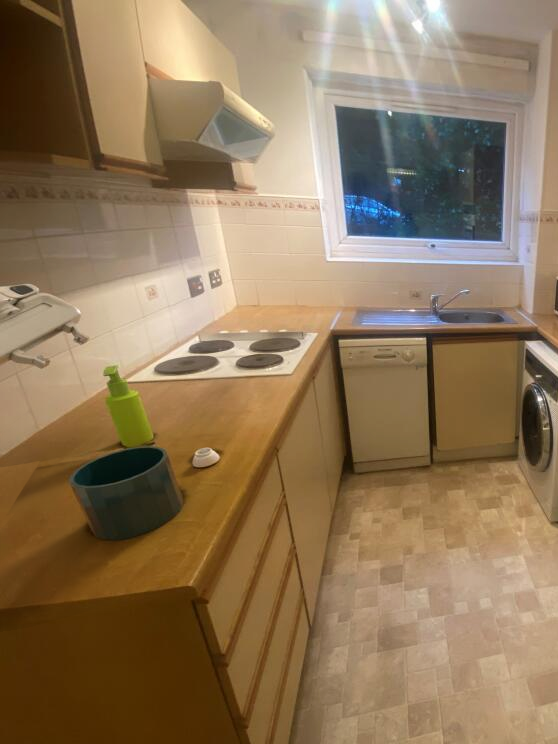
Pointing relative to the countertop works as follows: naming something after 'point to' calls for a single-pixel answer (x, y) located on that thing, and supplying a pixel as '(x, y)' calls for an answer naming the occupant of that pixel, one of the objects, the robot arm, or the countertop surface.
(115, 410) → the soap dispenser
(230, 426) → the countertop surface
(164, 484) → the canister
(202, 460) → the white bowl
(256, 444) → the countertop surface
